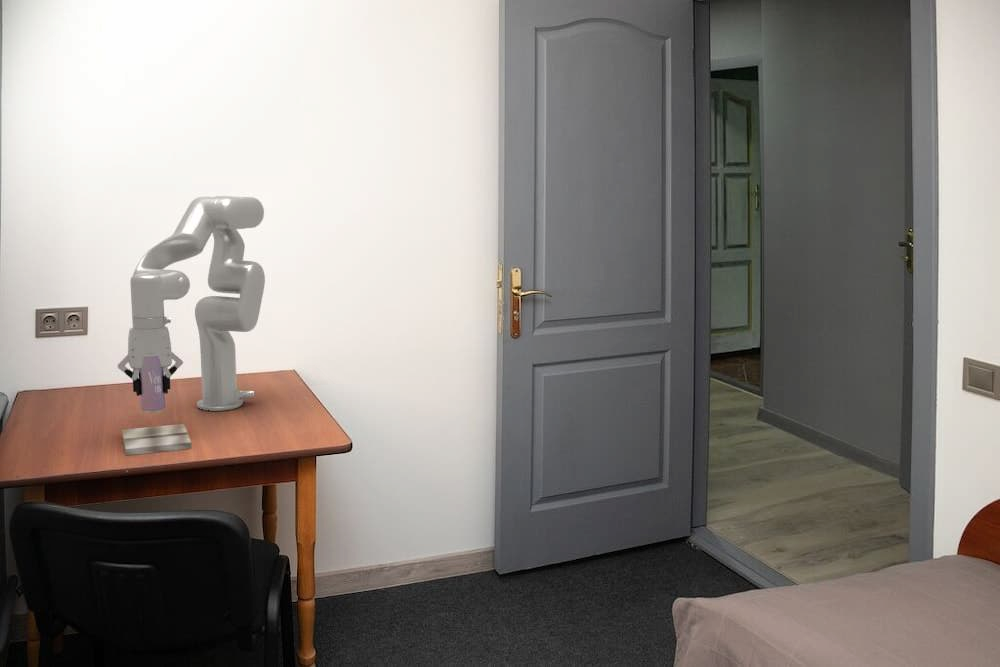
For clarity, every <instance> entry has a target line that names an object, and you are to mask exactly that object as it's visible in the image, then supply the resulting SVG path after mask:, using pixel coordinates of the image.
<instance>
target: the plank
mask: <svg viewBox="0 0 1000 667" xmlns="http://www.w3.org/2000/svg"><path fill="white" fill-rule="evenodd" d="M121 432H122V434H121V435H122V442H123V443H124V441H127V440H137V439H147V438H157V437H167V436H177V435H186V434H188V430H187V428H186V426H185V423H180V424H179V423H177V424H169V425H159V426H157V425H156V426H149V427H148V426H147V427H139V428H138V427H137V428H128V429H127V428H125V429H121Z"/></svg>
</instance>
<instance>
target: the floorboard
mask: <svg viewBox="0 0 1000 667" xmlns="http://www.w3.org/2000/svg"><path fill="white" fill-rule="evenodd" d="M190 438H191V437H190V436H189V433H187V434H186V435H177V436H167V437H157V438H147V439H137V440H127V441H124V442H123V447H124V453H125V456H134V455H144V454H145V455H146V454H154V453H162V452H171V451H182V450H190V449H192V441H191V439H190Z"/></svg>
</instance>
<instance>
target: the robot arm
mask: <svg viewBox="0 0 1000 667" xmlns="http://www.w3.org/2000/svg"><path fill="white" fill-rule="evenodd" d="M264 217H265V210H264V206H263V203H262V202H261V201H260V200H259V199H258V198H256V197H254V196H253V197H252V196H251V197H250V196H231V195H229V196H227V195H222V196H221V195H220V196H219V195H217V196H198V197H196V198H194V199H193V200H192V201H191V202H190V204H189V205H188V207H187V208H186V210H185V212H184V214H183V215H182V217H181V219H180V221H179V223H178V225H177V226H176V228H175V230H174V232H173V234H172V235H171V236H168V237H167V238H165V239H164V240H162V241H160V242H159V243H157V244H156V245H154V246H153V247H151V248H150V249H148V250H147V251H146V253H145V254H144V255H142V257H141V259H140V260H139V262H138V264H137V266H136V268H135V270H134V271H133V273H132V276H131V277H130V279H129V280H130V285H129V286H130V301H131V316H132V317H131V320H132V322H131V323H132V327H131V328H129V329H128V330H129V332H128V340H127V341H128V342H127V355H126V356H124V357H123V358H122V359H121V361H119V362H118V364H117V369H119V371H122V372H123V373H124V374H125V375H126V376H128V377H129V378H130V379H131V380H132V391H133V393H136V394H135V395H136V396H137V397H140V386H139V375H138V374H139V372H140V369H141V368H142V362H143V358H144V357H145V356H144V355H151V354H157V356H158V357H159V359H160V365H161V367H162V368H163V371H164V390H165V395H166V394H169V391H168V390H171V378H172V376H173V375H174V374H175V372H176V371H177V370H178V369H179V368H180V367H181V366H182V365H183V363H184V361H183V360H182V358H180V357H179V356H177V355H176V354H175V353H174V352H173V351H172V343H171V338H170V332H169V331H170V330H169V328H168V326H166V325H167V324H170V323H172V322H171V317H166V316H165V301H168V300H169V301H171V300H174V301H175V300H180V299H182V298H184V297H186V296H187V294H188V292H189V290H190V288H191V283H190V278H189V277H188V275H186V274H185V272H183V271H180V270H174V269H165V268H166V267H169V266H172V264H173V265H174V264H175V263H179V262H181V261H184V260H187V259H191V258H193V257H195V256H198V255H200V254H202V253H203V251H204V249H205V246H206V245H207V243H208V241H209V239H210V237H211V236H213V249H212V254H211V261H210V265H209V269H208V275H207V284H208V287H209V289H210V290H212V291H213V292H216V293H221V294H233V295H234V294H235V295H236V294H237V295H239V297H235V296H234V297H233V296H232V297H231V296H221V295H219V296H218V295H210V296H208V295H207V296H204V297H202V298H200V299H199V300H198V301H197V303H196V305H195V307H194V317H195V321H196V325H197V330H198V337H199V349H200V370H201V392H202V395H201V396H202V399H199V400H198V401H197V402H196V407H197V408H198V409H199V408H200V409H199V410H202V409H203V411H208V410H209V412H210V411H211V412H219V411H220V412H221V411H230V410H234V409H237V408H240V407H241V405H242V406H243V404H244V403H243V402H244V401H243V399H244V398H247V399H249V398H254V397H255V392H254V390H248V389H246V390H245V389H244V390H240V389H239V388H238V385H237V364H236V362H237V360H236V343H235V340H234V338H233V336H232V334H231V332H239V333H240V332H241V333H248V332H251V331H252V330H253V329H255V327H256V326H257V323H258V320H259V315H260V312H261V305H262V301H263V295H264V291H265V283H266V276H265V270H264V269H263V267H262V264H260V263H258V262H256V261H252V260H244V255H245V251H246V250H245V248H246V247H245V241H244V239H243V237H242V236H241V234H240V233H239V231H238V230H244V229H245V230H246V229H253V228H254V229H255V228H256V227H258V226H259V225H260V224H261V223H262V222H263V219H264ZM173 361H174V364H173V365H172V363H173ZM127 364H128V365H129V367H130V368H131V369H133V370H130V368H128V367H127V366H126V365H127ZM171 365H172V366H171ZM169 367H170V368H169Z"/></svg>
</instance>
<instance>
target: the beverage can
mask: <svg viewBox="0 0 1000 667" xmlns="http://www.w3.org/2000/svg"><path fill="white" fill-rule="evenodd" d="M144 356H145V357H144V358H143V362H142V368H141V369H140V372H139V374H138V378H139V386H140V395H139V409H140V411H141V412H142V413H146V414H155V413H160V412H164V410H165V409H166V396H165V395H166V393H165V390H164V374H165V373H164V371H163V368H162V367H161V365H160V359H159V357H158V356H157V354H151V355H144Z"/></svg>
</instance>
